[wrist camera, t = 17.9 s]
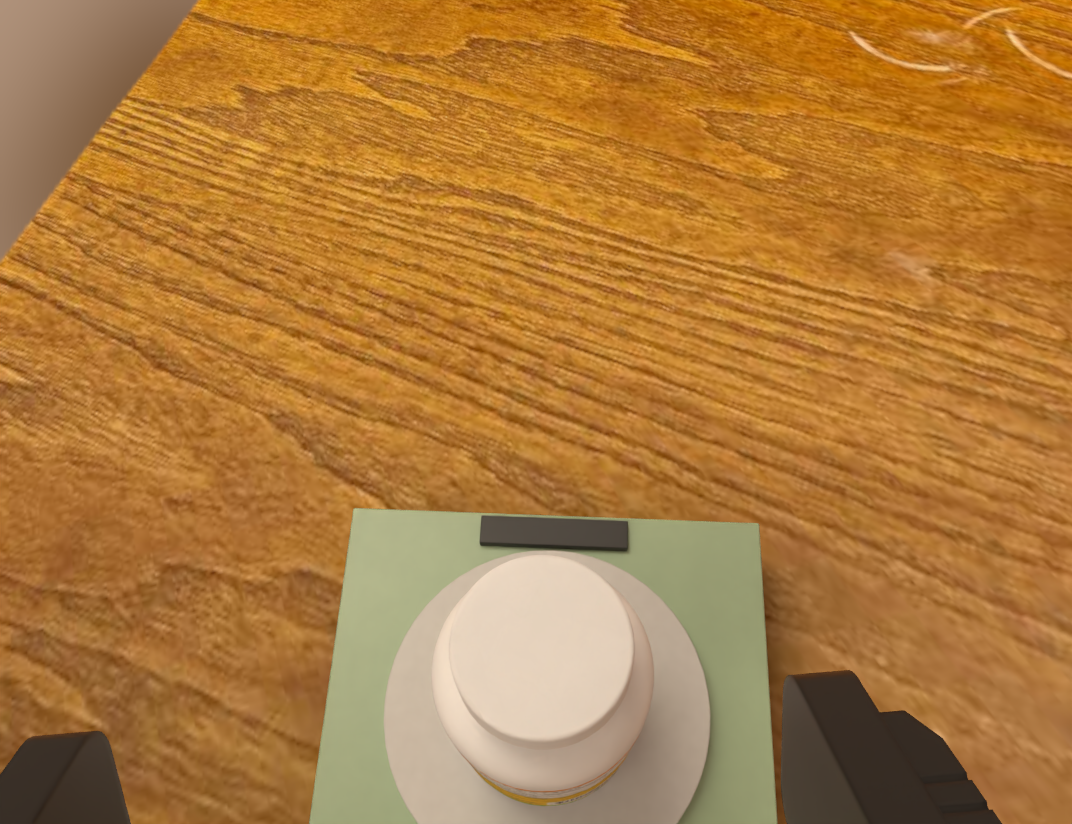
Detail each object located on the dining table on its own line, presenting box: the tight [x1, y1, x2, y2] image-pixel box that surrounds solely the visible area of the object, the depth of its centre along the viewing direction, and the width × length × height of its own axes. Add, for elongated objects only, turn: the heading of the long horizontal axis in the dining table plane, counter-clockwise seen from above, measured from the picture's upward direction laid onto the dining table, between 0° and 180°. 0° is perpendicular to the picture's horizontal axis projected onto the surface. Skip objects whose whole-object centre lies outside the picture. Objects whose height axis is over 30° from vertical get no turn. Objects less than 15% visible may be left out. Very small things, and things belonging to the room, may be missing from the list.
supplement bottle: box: [431, 555, 654, 806], centre depth 24 cm, size 5×5×10 cm
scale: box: [309, 508, 778, 824], centre depth 30 cm, size 14×13×4 cm
